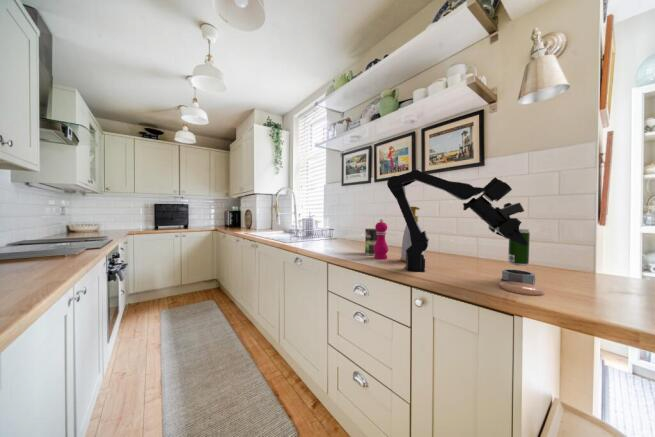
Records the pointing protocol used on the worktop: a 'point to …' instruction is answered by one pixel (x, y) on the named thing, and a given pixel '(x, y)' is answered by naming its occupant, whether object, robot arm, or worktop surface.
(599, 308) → the worktop surface
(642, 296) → the worktop surface
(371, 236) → the coffee can
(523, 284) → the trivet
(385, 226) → the pepper mill
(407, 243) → the soap bottle
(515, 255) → the beer can
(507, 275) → the collar
